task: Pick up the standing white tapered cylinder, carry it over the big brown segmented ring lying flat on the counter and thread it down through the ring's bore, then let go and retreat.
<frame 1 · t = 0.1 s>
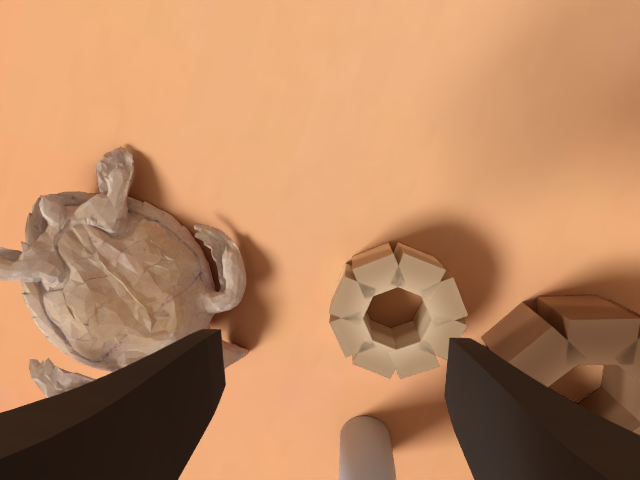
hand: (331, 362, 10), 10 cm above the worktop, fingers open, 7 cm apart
brown segmented ring: (559, 372, 20), on the worktop
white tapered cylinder: (365, 437, 23), on the worktop
beige notched ring: (391, 300, 20), on the worktop
turtle: (157, 259, 22), on the worktop
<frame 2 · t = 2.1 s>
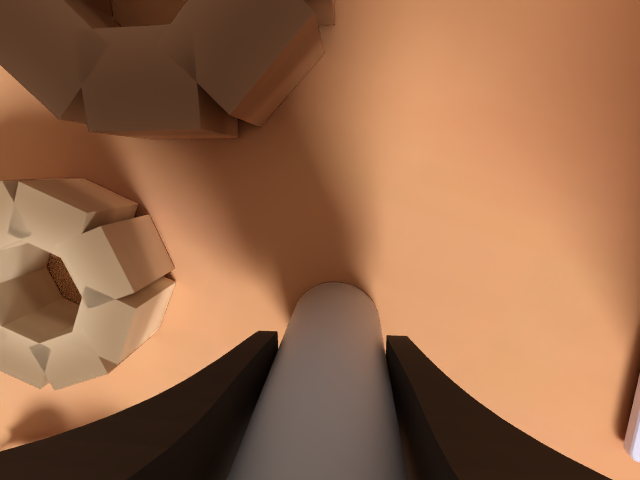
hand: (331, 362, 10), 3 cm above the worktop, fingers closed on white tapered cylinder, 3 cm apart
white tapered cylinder: (335, 323, 13), on the worktop, touching gripper
beige notched ring: (88, 269, 13), on the worktop
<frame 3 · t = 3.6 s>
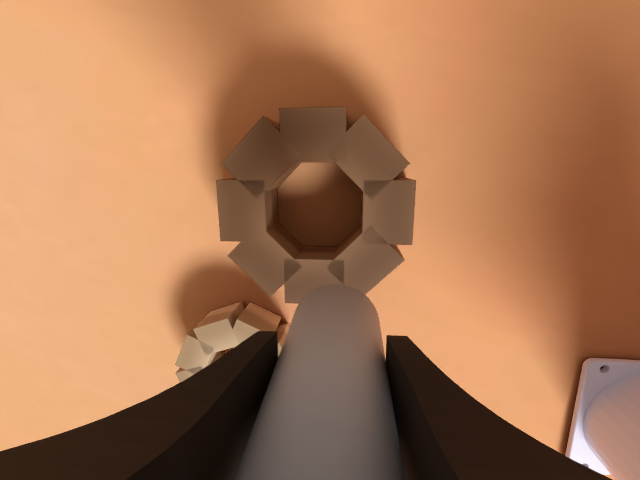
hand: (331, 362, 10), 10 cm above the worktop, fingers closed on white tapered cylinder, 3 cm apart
brown segmented ring: (319, 205, 20), on the worktop
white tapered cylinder: (336, 324, 13), point 7 cm above the worktop, touching gripper
beige notched ring: (246, 352, 22), on the worktop
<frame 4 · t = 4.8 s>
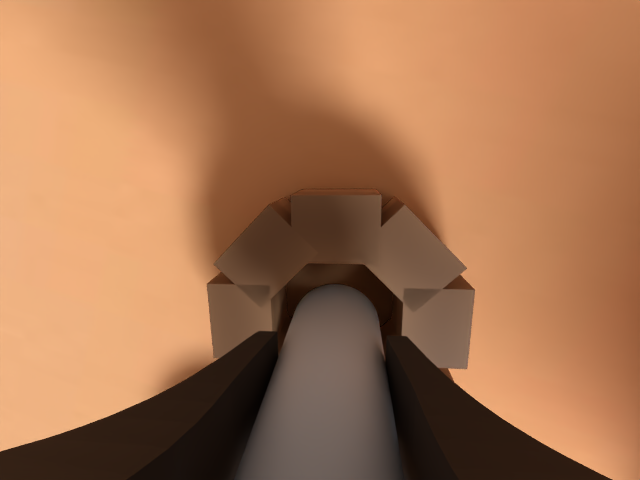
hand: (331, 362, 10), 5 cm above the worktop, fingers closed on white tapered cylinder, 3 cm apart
brown segmented ring: (338, 295, 16), on the worktop
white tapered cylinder: (335, 323, 13), point 3 cm above the worktop, touching gripper
when the fingers open (4 cm above the worktop, at t = 5.4 s): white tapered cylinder stays where it is, resting in brown segmented ring.
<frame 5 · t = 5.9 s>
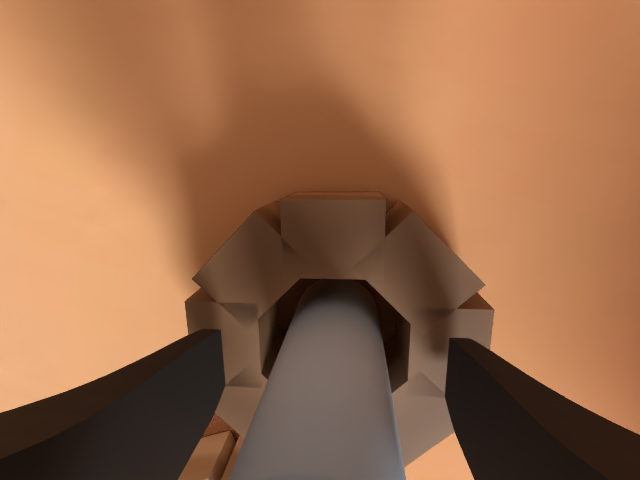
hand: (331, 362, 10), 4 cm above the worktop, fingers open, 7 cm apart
brown segmented ring: (336, 311, 14), on the worktop
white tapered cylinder: (337, 314, 14), resting in brown segmented ring
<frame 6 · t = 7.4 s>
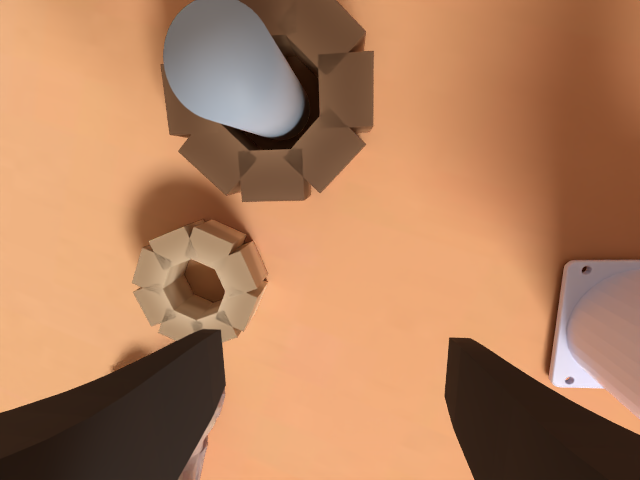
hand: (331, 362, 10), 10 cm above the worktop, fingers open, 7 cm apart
brown segmented ring: (279, 105, 18), on the worktop
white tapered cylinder: (279, 108, 19), resting in brown segmented ring
beige notched ring: (211, 275, 21), on the worktop
turtle: (151, 439, 25), on the worktop
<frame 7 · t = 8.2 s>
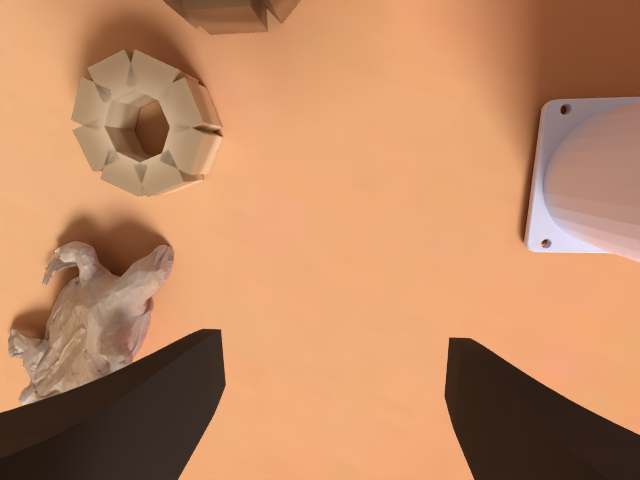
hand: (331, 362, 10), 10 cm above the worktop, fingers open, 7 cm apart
beige notched ring: (163, 130, 20), on the worktop
turtle: (101, 322, 24), on the worktop
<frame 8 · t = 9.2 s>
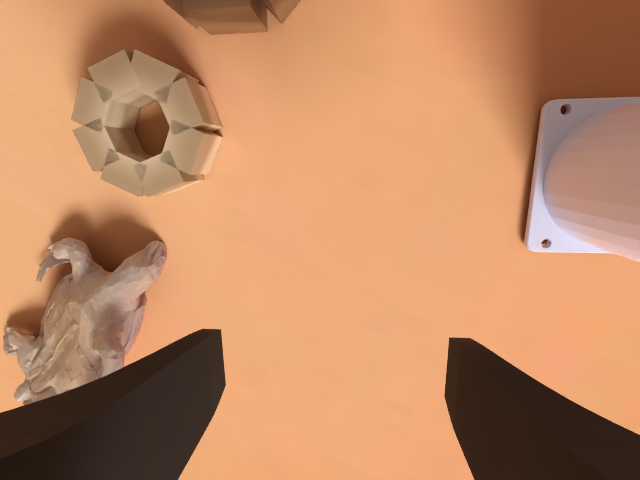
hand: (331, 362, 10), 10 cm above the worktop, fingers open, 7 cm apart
beige notched ring: (163, 130, 20), on the worktop
turtle: (95, 319, 24), on the worktop
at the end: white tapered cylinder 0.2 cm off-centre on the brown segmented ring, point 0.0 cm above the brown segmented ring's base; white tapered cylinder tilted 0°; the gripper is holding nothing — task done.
